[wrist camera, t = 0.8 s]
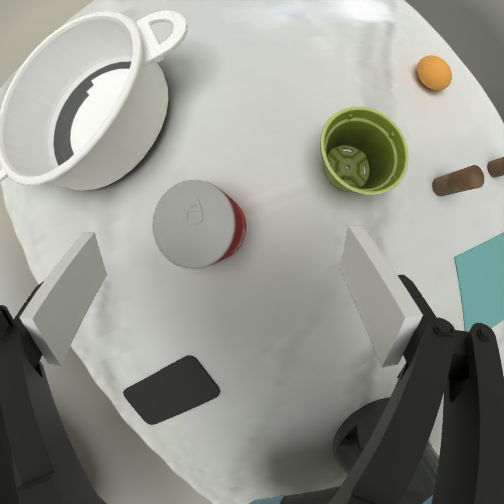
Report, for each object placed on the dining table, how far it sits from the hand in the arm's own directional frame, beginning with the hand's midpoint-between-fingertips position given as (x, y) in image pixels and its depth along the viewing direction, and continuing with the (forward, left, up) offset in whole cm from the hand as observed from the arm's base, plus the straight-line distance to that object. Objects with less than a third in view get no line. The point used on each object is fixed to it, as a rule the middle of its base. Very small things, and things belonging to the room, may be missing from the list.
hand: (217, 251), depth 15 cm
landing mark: (-18, -33, -22) cm, 44 cm away
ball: (+15, -33, -19) cm, 41 cm away
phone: (-17, +19, -22) cm, 33 cm away
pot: (+24, +15, -22) cm, 36 cm away
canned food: (+3, +4, -22) cm, 22 cm away
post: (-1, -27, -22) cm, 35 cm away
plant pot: (+5, -14, -22) cm, 27 cm away
